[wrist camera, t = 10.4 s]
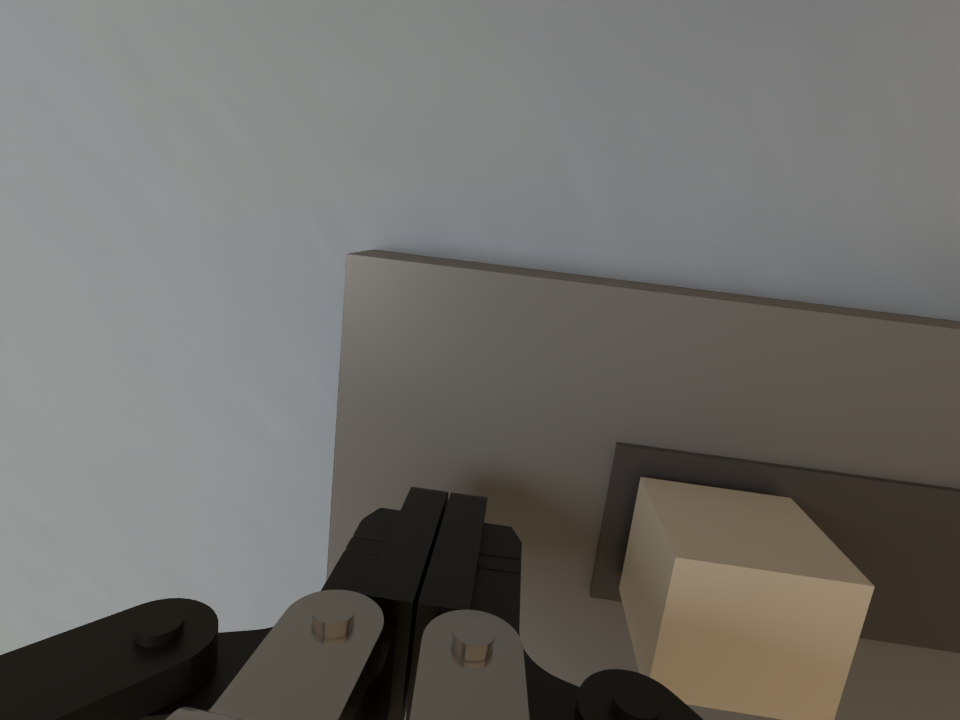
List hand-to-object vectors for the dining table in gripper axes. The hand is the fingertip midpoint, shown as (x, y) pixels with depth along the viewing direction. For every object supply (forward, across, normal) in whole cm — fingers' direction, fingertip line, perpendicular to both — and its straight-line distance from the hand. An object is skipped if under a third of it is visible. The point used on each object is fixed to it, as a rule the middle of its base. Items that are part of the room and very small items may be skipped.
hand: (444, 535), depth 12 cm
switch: (+1, -5, 0) cm, 5 cm away
